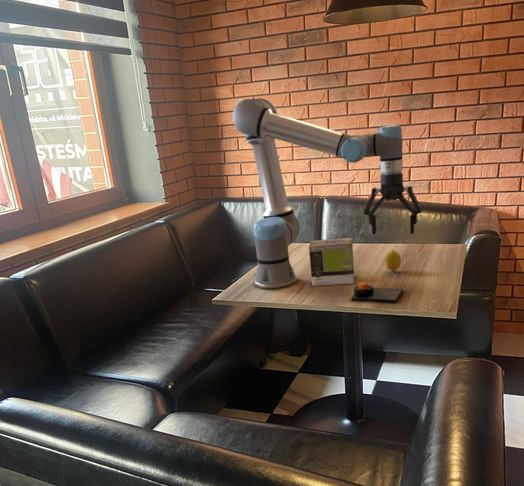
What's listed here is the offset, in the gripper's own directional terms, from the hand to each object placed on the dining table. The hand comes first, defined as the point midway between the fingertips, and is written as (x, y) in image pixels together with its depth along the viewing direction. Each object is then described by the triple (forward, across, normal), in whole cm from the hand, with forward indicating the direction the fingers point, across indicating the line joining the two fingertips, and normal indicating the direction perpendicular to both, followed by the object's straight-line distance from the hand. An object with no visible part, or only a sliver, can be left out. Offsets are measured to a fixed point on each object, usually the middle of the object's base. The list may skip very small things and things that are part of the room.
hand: (393, 233), depth 192 cm
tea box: (+14, -19, -14) cm, 27 cm away
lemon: (+14, 0, 0) cm, 14 cm away
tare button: (+12, -3, -28) cm, 31 cm away
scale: (+14, +1, -28) cm, 32 cm away
